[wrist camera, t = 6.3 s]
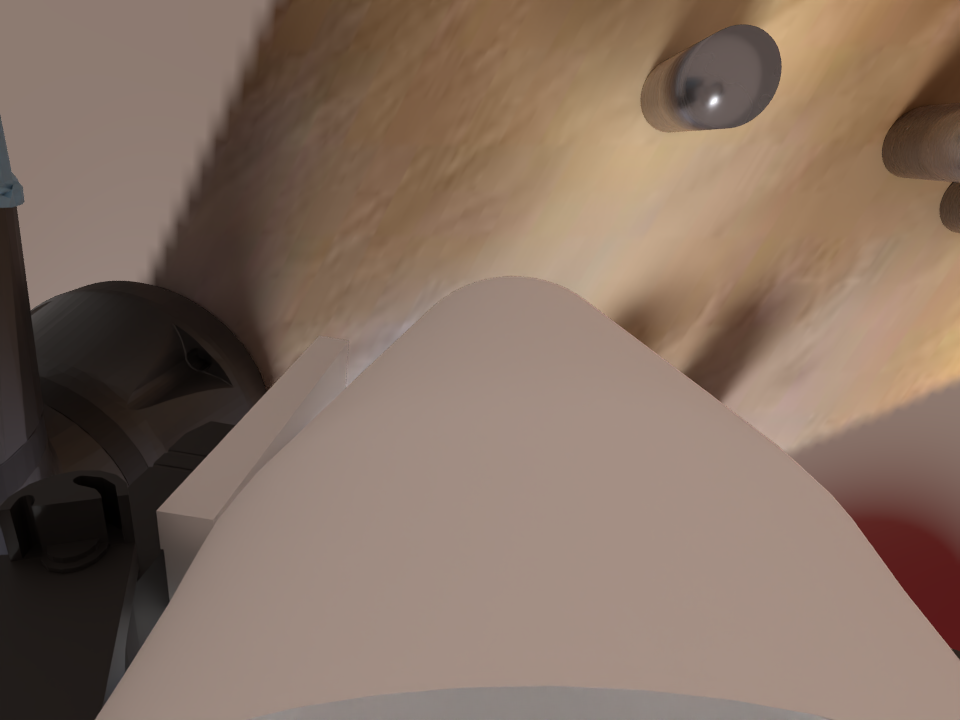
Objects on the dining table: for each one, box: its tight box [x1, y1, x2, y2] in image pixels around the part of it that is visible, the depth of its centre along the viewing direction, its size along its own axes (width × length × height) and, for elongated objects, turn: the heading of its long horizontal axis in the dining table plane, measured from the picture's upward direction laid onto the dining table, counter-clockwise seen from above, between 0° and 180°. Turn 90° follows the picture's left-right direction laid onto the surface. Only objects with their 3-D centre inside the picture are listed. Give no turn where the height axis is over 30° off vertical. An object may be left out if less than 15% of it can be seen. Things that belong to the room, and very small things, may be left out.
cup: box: [95, 276, 960, 720], centre depth 10 cm, size 9×9×12 cm
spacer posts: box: [641, 25, 960, 233], centre depth 25 cm, size 19×21×7 cm
